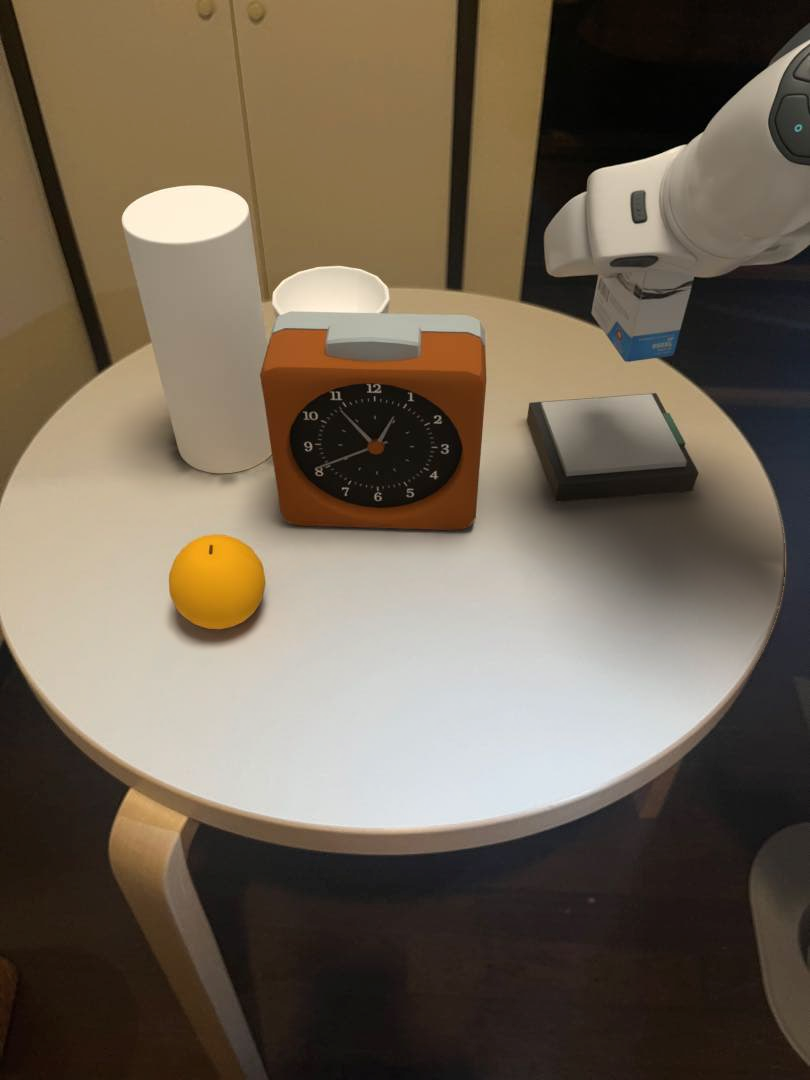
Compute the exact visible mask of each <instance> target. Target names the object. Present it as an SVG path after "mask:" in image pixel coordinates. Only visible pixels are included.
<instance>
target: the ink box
mask: <svg viewBox="0 0 810 1080" xmlns="http://www.w3.org/2000/svg"><path fill="white" fill-rule="evenodd" d="M694 280H695V276H690V275H687V274H684V273H682V272H672V271H665V270H661V271H645V272H631V273H622V274H621V275H619V276H618V277H617V278H605V279H601V278H600V276H599V274H598V275H597V281H596V286H595V292H594V297H593V301H592V308H591V315H592V316H593V318H594V320H595V321H596V323H597V324H598V325H599V327H600V328H601V330H602V331H603V333H604V334H605V336H606V337H607V339H609V341H610V343H611V344H612V345H613V347H614V348H615V350H616V351H617V352H618V355H620V357H621V358H622V360H623V361H624V362H625V363H631V362H638V361H644V360H645V361H646V360H652V359H659V358H660V359H661V358H665V357H672V356H674V354H675V351H676V348H677V344H678V340H679V336H680V333H681V328H682V325H683V321H684V317H685V313H686V311H687V310H686V309H687V306H688V302H689V298H690V296H691V295H690V294H691V291H692V286H693V283H694Z"/></svg>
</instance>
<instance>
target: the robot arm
mask: <svg viewBox="0 0 810 1080" xmlns="http://www.w3.org/2000/svg"><path fill="white" fill-rule="evenodd" d="M809 246H810V22H808V23H807V24H806V25H805V26H804V27H802V28H801V29H800V30H799V31H798V32H797V33H795V34H794V35H793V37H791V38H790V39H789V41H787V42H786V44H785V45H783V47H782V48H781V49H780V50H779V51H777V53H776V54H775V55H774V56H773V57H772V58H771V60H770V62H769V64H768V66H767V67H766V68H765V69H764V70H763V71H761V72H760V73H759V74H757V75H756V76H755V77H754V78H752V79H751V80H750V81H748V83H746V84H745V85H744V86H743V87H742V88H740V89H739V91H737V93H736V94H735V95H733V96H732V97H731V98H730V99H728V101H727V102H726V103H725V104H724V105H723V106H722V107H721V109H719V110H718V112H716V114H715V115H714V116H713V117H712V118H711V120H710V121H709V123H708V124H707V126H706V128H705V129H704V131H702V132H701V133H700V134H698V135H697V136H695V137H694V138H692V139H691V141H690V142H688V143H687V144H682V145H679V146H675V147H673V148H670V149H668V150H665V151H663V152H662V153H659V154H656V155H653V156H649V157H646V158H641V159H638V160H633V161H629V162H624V163H623V162H622V163H620V164H614V165H611V166H606V167H601V168H598V169H596V170H594V171H593V172H592V173H590V174H589V176H588V178H587V181H586V191H583V192H581V193H580V194H578V195H576V196H574V197H572V198H571V199H570V200H568V202H566V203H565V204H564V205H563V206H562V207H561V208H560V209H559V211H558V212H557V213H556V214H555V216H554V217H553V218H552V219H551V221H550V222H549V223H548V225H547V226H546V228H545V231H544V233H543V248H544V249H543V250H544V251H543V252H544V262H545V268H546V269H545V270H546V272H547V274H548V275H550V276H551V277H552V276H553V277H555V278H566V277H567V278H568V277H579V276H598V275H599V276H600V278H601V279H605V278H617V277H618V276H619V275H621V274H622V273H631V272H645V271H661V270H665V271H672V272H682V273H684V274H687V275H690V276H694V278H695V277H696V278H715V277H719V276H722V275H726V274H728V273H730V272H732V271H734V270H735V269H737V268H739V267H742V266H746V267H747V266H758V265H759V266H760V265H761V266H762V265H774V264H779V263H782V262H786V261H789V260H791V259H792V258H794V257H795V256H797V255H798V254H800V253H801V252H802V251H804V250H805V249H807V248H808V247H809Z"/></svg>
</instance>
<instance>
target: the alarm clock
mask: <svg viewBox="0 0 810 1080" xmlns="http://www.w3.org/2000/svg"><path fill="white" fill-rule="evenodd" d="M267 344H268V347H267V351H266V355H265V358H264V362H263V366H262V369H261V373H260V378H261V384H262V391H263V397H264V403H265V410H266V417H267V424H268V431H269V438H270V445H271V451H272V455H271V457H272V463H273V464H272V465H273V471H274V476H275V482H276V489H277V496H278V502H279V511H280V514H281V517H283V519H284V520H285V522H287V523H290V524H292V525H295V526H309V527H339V528H340V527H343V528H378V529H407V530H408V529H411V530H412V529H413V530H441V531H443V530H447V531H448V530H449V531H460V530H464V529H467V528H470V526H471V525H472V524H473V522H475V519H476V517H477V507H478V506H477V504H478V492H479V481H480V480H479V479H480V466H481V454H482V442H483V430H484V416H485V404H486V391H487V361H486V360H487V355H486V331H485V329H484V327H483V324H482V322H481V321H480V320H479V319H477V318H475V317H473V316H470V315H468V314H437V313H434V314H433V313H432V314H431V313H391V312H388V313H344V312H296V311H290V312H288V313H285V314H282V315H280V316H278V317H277V319H276V318H275V320H274V323H273V326H272V329H271V333H270V336H269V340H268V343H267Z"/></svg>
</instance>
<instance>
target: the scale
mask: <svg viewBox="0 0 810 1080" xmlns="http://www.w3.org/2000/svg"><path fill="white" fill-rule="evenodd" d="M526 417H527V418H526V421H527V425H528V427H529V430H530V433H531V435H532V438H533V441H534V444H535V447H536V450H537V453H538V456H539V459H540V461H541V465H542V467H543V470H544V473H545V475H546V479H547V481H548V485H549V487H550V490H551V493H552V497H553V498H554V501H555V503H561V502H573V501H584V500H594V499H595V500H596V499H606V498H619V497H630V496H631V497H632V496H643V495H655V494H666V493H677V492H678V493H679V492H688V491H689V492H690V491H691V492H692V491H693V490H694V487H695V485H696V482H697V479H698V476H699V471H698V468H697V467H696V464H695V462H694V461H693V459H692V457H691V456H690V454H689V452H688V450H687V449H686V441H685V440H684V438H683V436H682V434H681V431H680V430H679V428H678V427H677V425H676V423H675V421H674V418H673V417H672V415H671V413H670V412H667V410H666V409H665V407H664V405H663V403H662V402H661V399H660V398H659V395H658V394H657V393H656V392H654V393H653V392H651V393H639V394H638V393H637V394H627V395H613V396H599V397H598V396H597V397H589V398H588V397H587V398H572V399H571V398H570V399H559V400H545V401H534V402H533V401H531V402H529V403H528V410H527V416H526Z"/></svg>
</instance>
